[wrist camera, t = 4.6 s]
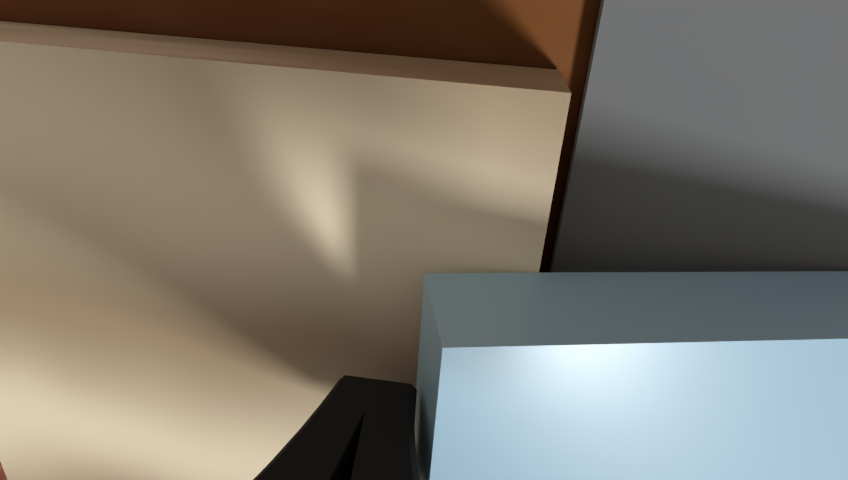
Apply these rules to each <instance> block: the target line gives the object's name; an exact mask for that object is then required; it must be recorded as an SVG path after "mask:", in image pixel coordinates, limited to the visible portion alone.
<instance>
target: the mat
mask: <svg viewBox="0 0 848 480" xmlns="http://www.w3.org/2000/svg"><path fill="white" fill-rule="evenodd" d="M782 271H848V0H601V3H600V9H599V14H598V19H597V24H596V30H595V35H594V40H593V45H592V51H591V56H590V61H589V66H588V71H587V77H586V82H585V87H584V92H583V98H582V103H581V108H580V113H579V119H578V124H577V129H576V134H575V140H574V145H573V150H572V155H571V161H570V166H569V171H568V176H567V181H566V187H565V192H564V197H563V202H562V208H561V213H560V218H559V223H558V229H557V234H556V239H555V244H554V250H553V255H552V260H551V265H550V271H549V273H554V272H782Z"/></svg>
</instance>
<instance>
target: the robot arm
mask: <svg viewBox="0 0 848 480" xmlns="http://www.w3.org/2000/svg"><path fill="white" fill-rule="evenodd" d="M416 398H417V389H416V388H415V387H414V386H413V385H412V384H409V383H401V382H393V381H386V380H378V379H371V378H363V377H355V376H348V375H345V376H343V377H342V378H340V379H339V380H338V382H337V383H336V384H335V386H334V387H333V388H332V390H331V391H330V392H329V394H328V395H327V396H326V398H325V399H324V400H323V401H322V403H321V404H320V405H319V406H318V408H317V409H316V410H315V411H314V413H313V414H312V415H311V416H310V417H309V419H308V420H307V421H306V422H305V423H304V425H303V426H302V427H301V428H300V429H299V430H298V432H297V433H296V434H295V435H294V436H293V437H292V438H291V439H290V441H289V442H288V443H287V444H286V445H285V446H284V447H283V448H282V449H281V451H280V452H279V453H278V454H277V455H276V456H275V457H274V458H273V459H272V461H271V462H270V463H269V464H268V465H267V466H266V467H265V468H264V469H263V470H262V471H261V472H260V473H259V474H258V475H257V476H256V477H255V478H254V479H253V480H420V476H419V469H418V462H417V454H416V445H415V430H414V426H415V412H416Z"/></svg>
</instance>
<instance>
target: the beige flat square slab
mask: <svg viewBox="0 0 848 480" xmlns="http://www.w3.org/2000/svg"><path fill="white" fill-rule="evenodd" d="M570 98H571V91H570V89H569V87H568V86H567V84H566V82H565V80H564V78H563V76H562V74H561V73H560V71H559V70H556V69H544V68H533V67H522V66H510V65H499V64H487V63H476V62H464V61H453V60H442V59H430V58H419V57H407V56H396V55H384V54H373V53H362V52H350V51H339V50H327V49H316V48H304V47H293V46H282V45H270V44H259V43H247V42H236V41H224V40H213V39H202V38H190V37H179V36H167V35H156V34H144V33H133V32H121V31H110V30H99V29H87V28H76V27H64V26H53V25H41V24H30V23H19V22H7V21H0V462H1V464H2V467H3V469H4V472H5V475H6V477H7V480H253V479H254V478H255V477H256V476H257V475H258V474H259V473H260V472H261V471H262V470H263V469H264V468H265V467H266V466H267V465H268V464H269V463H270V462H271V461H272V459H273V458H274V457H275V456H276V455H277V454H278V453H279V452H280V451H281V449H282V448H283V447H284V446H285V445H286V444H287V443H288V442H289V441H290V439H291V438H292V437H293V436H294V435H295V434H296V433H297V432H298V430H299V429H300V428H301V427H302V426H303V425H304V423H305V422H306V421H307V420H308V419H309V417H310V416H311V415H312V414H313V413H314V411H315V410H316V409H317V408H318V406H319V405H320V404H321V403H322V401H323V400H324V399H325V398H326V396H327V395H328V394H329V392H330V391H331V390H332V388H333V387H334V386H335V384H336V383H337V382H338V380H339V379H340V378H342V377H343V376H345V375H348V376H355V377H363V378H371V379H378V380H386V381H393V382H401V383H409V384H412V385H413V386H414V387H415V388H416V382H417V369H418V355H419V342H420V329H421V316H422V302H423V289H424V276H425V273H539V269H540V264H541V258H542V253H543V247H544V242H545V236H546V231H547V225H548V220H549V214H550V209H551V203H552V198H553V192H554V187H555V181H556V176H557V170H558V164H559V159H560V153H561V148H562V142H563V137H564V131H565V126H566V120H567V115H568V109H569V104H570Z"/></svg>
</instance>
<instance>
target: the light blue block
mask: <svg viewBox="0 0 848 480" xmlns="http://www.w3.org/2000/svg"><path fill="white" fill-rule="evenodd" d="M416 389H417V398H416V412H415V426H414V430H415V445H416V454H417V462H418V469H419V476H420V480H848V271H782V272H554V273H425V276H424V289H423V302H422V316H421V329H420V342H419V355H418V369H417V382H416Z"/></svg>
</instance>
